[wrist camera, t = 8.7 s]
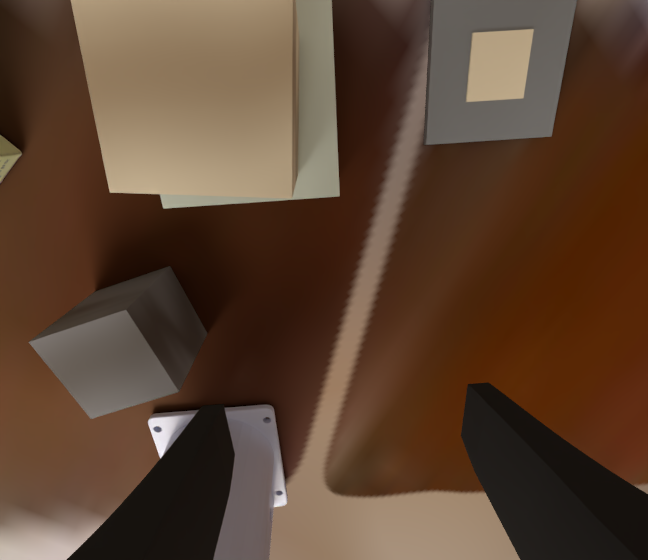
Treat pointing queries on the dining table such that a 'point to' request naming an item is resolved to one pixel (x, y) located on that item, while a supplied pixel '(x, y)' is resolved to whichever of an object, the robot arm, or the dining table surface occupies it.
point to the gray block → (124, 343)
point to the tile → (495, 68)
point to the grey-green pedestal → (303, 114)
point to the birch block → (194, 94)
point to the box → (7, 157)
